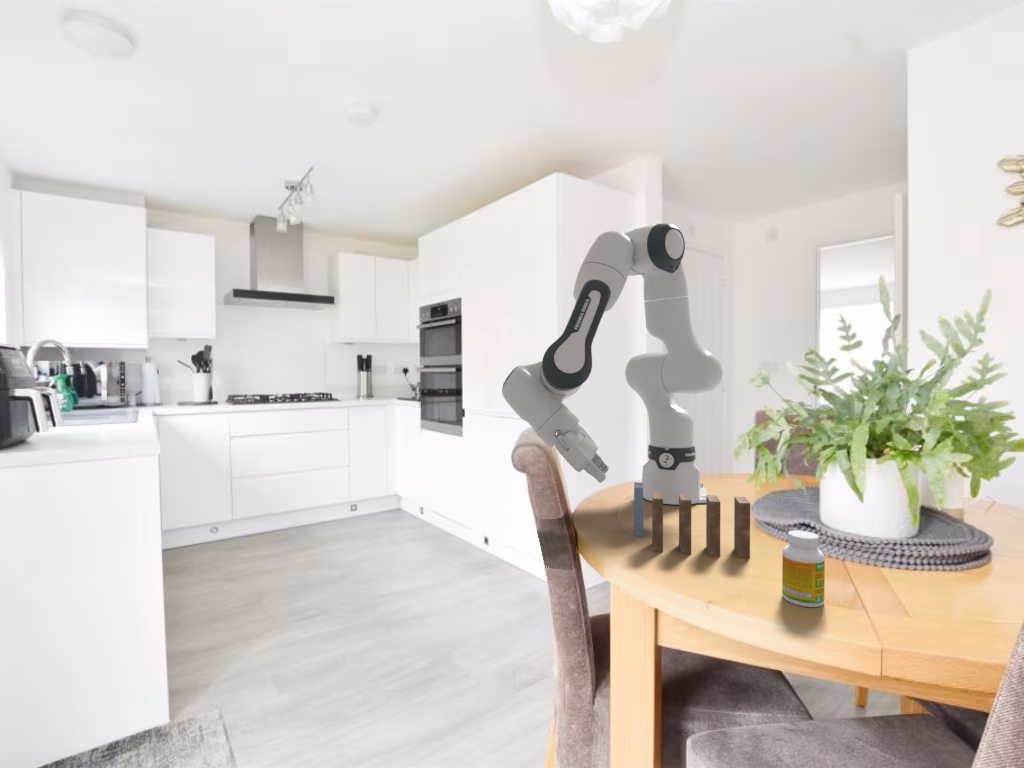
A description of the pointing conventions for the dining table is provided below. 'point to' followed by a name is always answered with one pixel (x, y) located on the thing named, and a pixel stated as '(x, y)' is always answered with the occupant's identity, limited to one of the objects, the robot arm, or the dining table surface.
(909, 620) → the dining table surface
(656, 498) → the domino
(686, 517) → the domino
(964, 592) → the dining table surface
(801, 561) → the supplement bottle
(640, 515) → the domino
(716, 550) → the domino
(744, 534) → the domino
